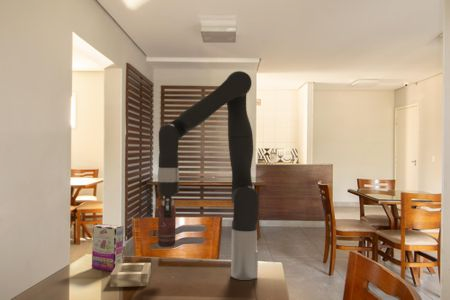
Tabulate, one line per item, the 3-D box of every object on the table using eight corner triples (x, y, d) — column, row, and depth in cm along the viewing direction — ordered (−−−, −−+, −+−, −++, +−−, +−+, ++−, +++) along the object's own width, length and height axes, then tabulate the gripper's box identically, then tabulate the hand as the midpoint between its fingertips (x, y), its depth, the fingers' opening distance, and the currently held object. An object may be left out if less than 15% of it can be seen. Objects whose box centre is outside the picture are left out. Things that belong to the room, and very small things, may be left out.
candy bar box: (123, 268, 130) (124, 225, 130) (114, 272, 125) (115, 228, 125) (100, 264, 134) (101, 223, 134) (91, 268, 129) (92, 225, 130)
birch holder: (150, 273, 125) (150, 262, 125) (147, 285, 113) (147, 273, 113) (117, 274, 123) (117, 263, 123) (110, 286, 111) (110, 274, 111)
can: (172, 247, 116) (173, 207, 116) (155, 246, 117) (155, 206, 118) (178, 243, 122) (178, 204, 122) (161, 242, 123) (162, 204, 124)
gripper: (178, 181, 114) (178, 233, 114) (179, 179, 127) (178, 225, 127) (156, 181, 113) (155, 233, 113) (158, 179, 126) (158, 225, 126)
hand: (167, 229), depth 120 cm, fingers closed
